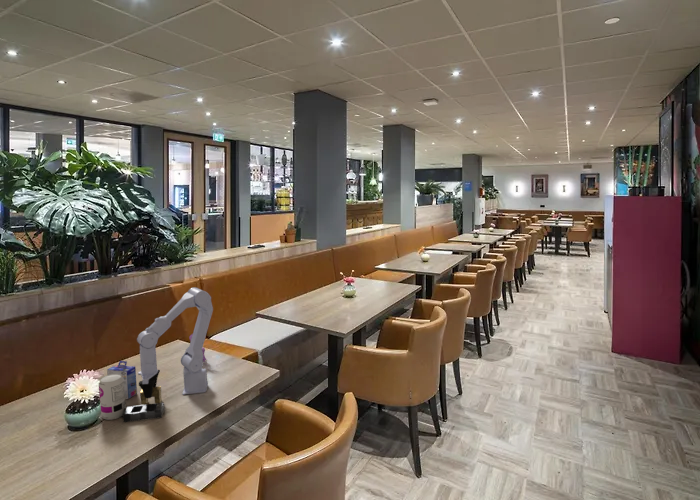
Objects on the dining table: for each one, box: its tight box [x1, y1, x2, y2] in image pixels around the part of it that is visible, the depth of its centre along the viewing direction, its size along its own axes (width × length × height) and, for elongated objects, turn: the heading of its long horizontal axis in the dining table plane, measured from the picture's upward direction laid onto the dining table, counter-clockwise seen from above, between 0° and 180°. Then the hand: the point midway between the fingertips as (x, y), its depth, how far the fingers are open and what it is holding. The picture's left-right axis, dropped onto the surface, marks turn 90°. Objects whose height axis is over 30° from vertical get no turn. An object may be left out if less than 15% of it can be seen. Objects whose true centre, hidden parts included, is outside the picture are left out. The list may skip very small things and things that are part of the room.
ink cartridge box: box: [106, 360, 138, 400], centre depth 171 cm, size 10×6×14 cm, turn 79°
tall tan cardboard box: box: [139, 385, 162, 405], centre depth 165 cm, size 7×4×6 cm, turn 104°
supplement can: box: [98, 374, 127, 421], centre depth 155 cm, size 8×8×15 cm
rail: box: [122, 401, 165, 423], centre depth 156 cm, size 13×6×3 cm, turn 104°
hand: (150, 393), depth 165 cm, fingers open, 7 cm apart
